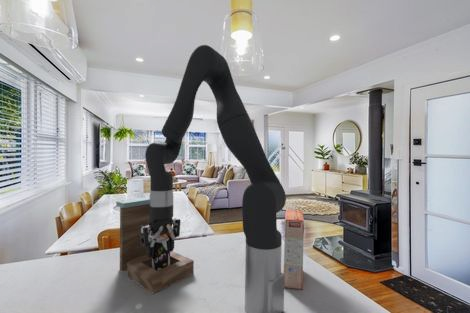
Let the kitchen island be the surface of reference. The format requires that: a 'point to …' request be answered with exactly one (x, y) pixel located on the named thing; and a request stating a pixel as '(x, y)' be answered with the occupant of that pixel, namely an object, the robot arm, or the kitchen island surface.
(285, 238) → the cracker box
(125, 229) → the grey-capped wooden panel
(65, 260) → the kitchen island surface
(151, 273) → the socket block
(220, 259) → the kitchen island surface
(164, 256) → the beverage can
